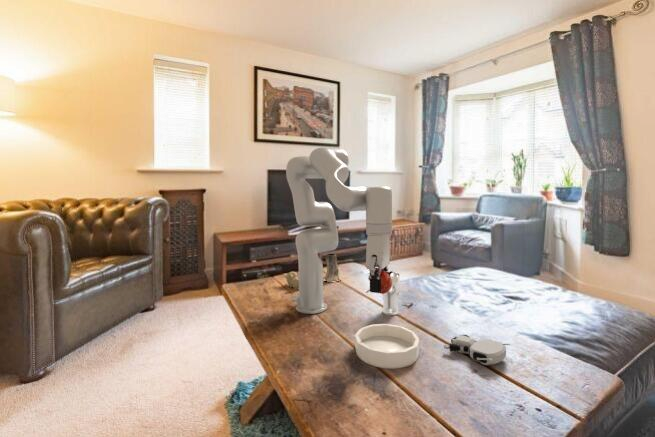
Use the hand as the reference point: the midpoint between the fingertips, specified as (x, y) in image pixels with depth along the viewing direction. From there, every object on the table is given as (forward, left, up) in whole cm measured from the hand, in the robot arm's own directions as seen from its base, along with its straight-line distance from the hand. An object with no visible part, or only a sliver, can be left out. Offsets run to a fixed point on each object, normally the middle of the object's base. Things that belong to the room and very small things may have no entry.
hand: (379, 287), depth 97 cm
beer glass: (-3, +28, -19) cm, 34 cm away
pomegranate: (0, 0, -2) cm, 2 cm away
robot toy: (+27, +6, -19) cm, 33 cm away
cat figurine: (-53, +42, -19) cm, 70 cm away
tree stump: (-41, +59, -19) cm, 75 cm away
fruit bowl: (+3, -2, -18) cm, 19 cm away
